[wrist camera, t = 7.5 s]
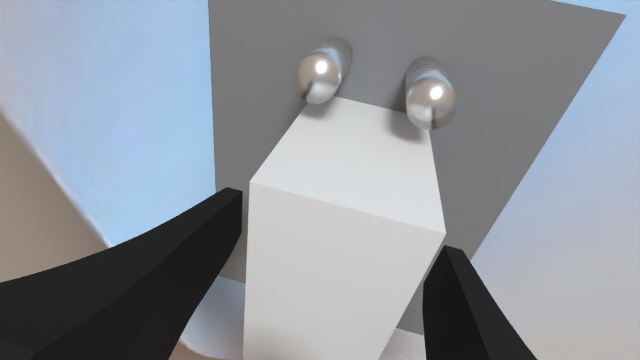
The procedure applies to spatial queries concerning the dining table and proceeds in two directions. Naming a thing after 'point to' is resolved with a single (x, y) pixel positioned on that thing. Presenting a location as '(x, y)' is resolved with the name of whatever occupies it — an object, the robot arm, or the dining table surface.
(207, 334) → the dining table surface
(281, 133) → the pin tray
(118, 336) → the robot arm
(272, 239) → the block
